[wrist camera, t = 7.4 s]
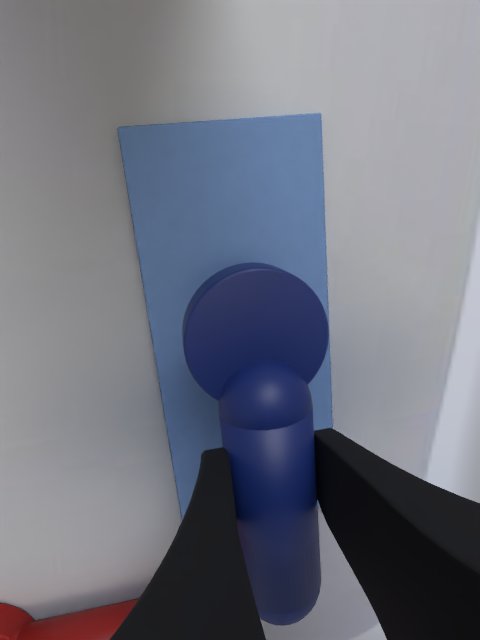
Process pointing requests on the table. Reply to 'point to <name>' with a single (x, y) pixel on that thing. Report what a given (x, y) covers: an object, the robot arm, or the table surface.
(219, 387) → the blue spoon
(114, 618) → the red spoon
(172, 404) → the blue mat
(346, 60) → the table surface
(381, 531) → the robot arm
